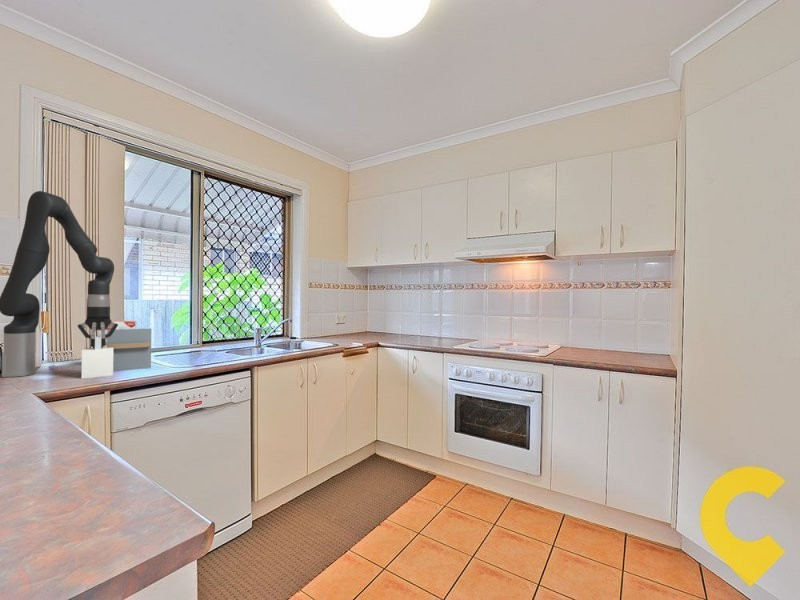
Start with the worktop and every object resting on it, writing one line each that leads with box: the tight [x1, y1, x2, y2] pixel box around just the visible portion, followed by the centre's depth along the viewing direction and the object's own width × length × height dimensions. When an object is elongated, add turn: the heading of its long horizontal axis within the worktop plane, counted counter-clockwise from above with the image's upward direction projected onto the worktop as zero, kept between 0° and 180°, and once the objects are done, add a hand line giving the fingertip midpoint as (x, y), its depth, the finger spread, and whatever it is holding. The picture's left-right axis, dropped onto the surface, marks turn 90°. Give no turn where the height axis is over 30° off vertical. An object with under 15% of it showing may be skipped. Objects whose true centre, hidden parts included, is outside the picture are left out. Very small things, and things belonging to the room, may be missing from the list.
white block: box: [81, 335, 114, 379], centre depth 156 cm, size 10×7×16 cm
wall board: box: [107, 328, 152, 372], centre depth 170 cm, size 16×8×18 cm, turn 128°
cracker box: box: [97, 320, 137, 347], centre depth 179 cm, size 14×6×21 cm, turn 121°
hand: (98, 347), depth 155 cm, fingers closed on white block
